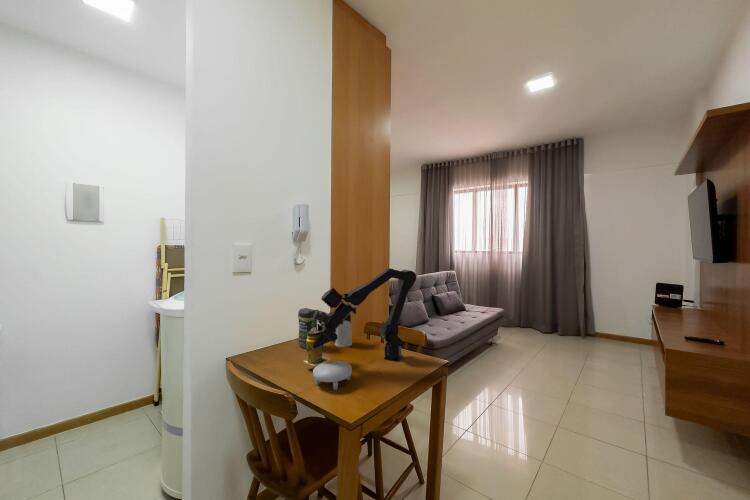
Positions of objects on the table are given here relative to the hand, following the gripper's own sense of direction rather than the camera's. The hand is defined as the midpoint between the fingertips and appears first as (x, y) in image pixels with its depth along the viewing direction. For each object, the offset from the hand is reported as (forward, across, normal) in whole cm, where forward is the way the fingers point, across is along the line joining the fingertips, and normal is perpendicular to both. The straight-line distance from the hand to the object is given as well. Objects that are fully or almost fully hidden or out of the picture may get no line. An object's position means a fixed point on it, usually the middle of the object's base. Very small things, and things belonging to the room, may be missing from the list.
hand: (312, 345), depth 119 cm
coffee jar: (+7, -28, +7) cm, 29 cm away
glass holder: (-5, -28, +19) cm, 34 cm away
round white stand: (+3, +14, +11) cm, 18 cm away
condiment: (+4, 0, +6) cm, 7 cm away
